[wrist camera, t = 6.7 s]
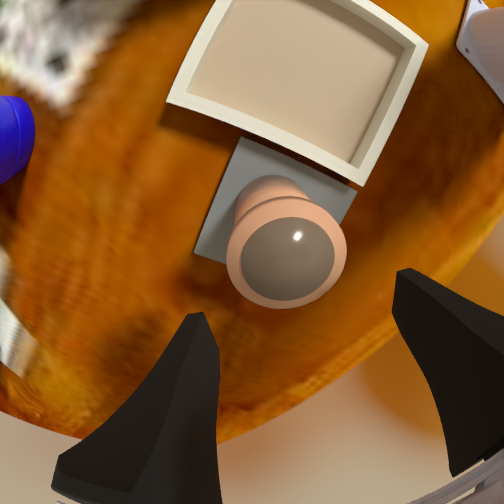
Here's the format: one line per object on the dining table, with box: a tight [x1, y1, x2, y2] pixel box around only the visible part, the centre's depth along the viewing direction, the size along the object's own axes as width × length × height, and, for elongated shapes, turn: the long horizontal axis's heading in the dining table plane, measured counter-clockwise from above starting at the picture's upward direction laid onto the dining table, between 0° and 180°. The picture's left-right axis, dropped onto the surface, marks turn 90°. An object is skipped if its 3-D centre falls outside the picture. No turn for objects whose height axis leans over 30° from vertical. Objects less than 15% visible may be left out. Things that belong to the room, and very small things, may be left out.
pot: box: [226, 175, 347, 309], centre depth 14 cm, size 5×5×6 cm
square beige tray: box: [166, 0, 429, 187], centre depth 12 cm, size 12×11×2 cm
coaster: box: [194, 136, 357, 265], centre depth 18 cm, size 8×8×1 cm
